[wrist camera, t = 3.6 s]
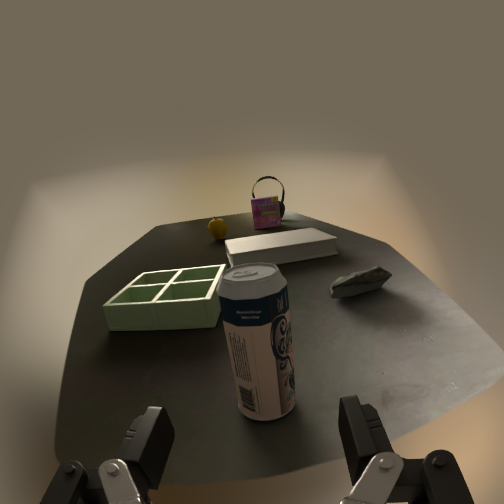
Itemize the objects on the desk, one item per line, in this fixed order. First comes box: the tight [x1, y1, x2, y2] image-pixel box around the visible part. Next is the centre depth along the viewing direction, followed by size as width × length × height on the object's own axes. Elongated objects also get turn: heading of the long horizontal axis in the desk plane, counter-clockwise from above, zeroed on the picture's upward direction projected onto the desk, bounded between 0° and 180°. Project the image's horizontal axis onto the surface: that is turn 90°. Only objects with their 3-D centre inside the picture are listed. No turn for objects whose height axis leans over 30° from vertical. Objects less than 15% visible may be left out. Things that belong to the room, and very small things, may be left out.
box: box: [251, 195, 281, 229], centre depth 115 cm, size 10×6×12 cm, turn 88°
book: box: [225, 228, 338, 267], centre depth 73 cm, size 18×4×24 cm
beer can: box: [216, 263, 296, 421], centre depth 21 cm, size 5×5×12 cm
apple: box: [208, 217, 227, 239], centre depth 102 cm, size 6×6×8 cm
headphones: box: [252, 176, 285, 219], centre depth 130 cm, size 9×15×20 cm, turn 103°
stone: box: [329, 266, 392, 298], centre depth 43 cm, size 11×4×10 cm
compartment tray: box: [103, 264, 227, 331], centre depth 46 cm, size 16×16×4 cm
